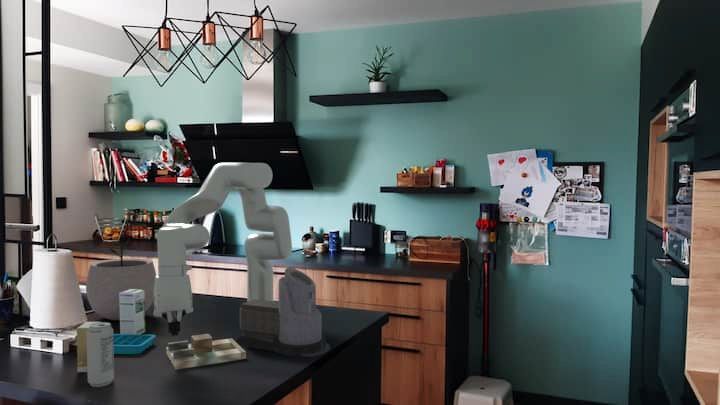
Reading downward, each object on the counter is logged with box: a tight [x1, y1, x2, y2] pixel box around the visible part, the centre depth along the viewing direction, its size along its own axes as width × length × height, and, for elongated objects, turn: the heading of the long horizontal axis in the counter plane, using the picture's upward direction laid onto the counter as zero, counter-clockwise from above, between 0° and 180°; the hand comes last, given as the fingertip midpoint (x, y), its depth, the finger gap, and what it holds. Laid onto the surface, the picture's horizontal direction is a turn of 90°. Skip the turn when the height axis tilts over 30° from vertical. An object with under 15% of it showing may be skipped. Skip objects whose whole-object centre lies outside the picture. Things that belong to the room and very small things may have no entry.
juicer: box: [235, 267, 331, 358], centre depth 171 cm, size 30×16×24 cm, turn 68°
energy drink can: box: [86, 321, 115, 388], centre depth 138 cm, size 6×6×15 cm
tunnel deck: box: [166, 337, 247, 370], centre depth 160 cm, size 20×15×4 cm
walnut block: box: [190, 333, 213, 354], centre depth 159 cm, size 5×5×4 cm
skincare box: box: [76, 321, 100, 373], centre depth 149 cm, size 6×4×12 cm
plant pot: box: [85, 236, 157, 321], centre depth 201 cm, size 24×24×30 cm
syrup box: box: [119, 289, 146, 335], centre depth 182 cm, size 6×6×14 cm
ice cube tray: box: [75, 333, 157, 355], centre depth 167 cm, size 12×20×3 cm, turn 88°
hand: (174, 334), depth 156 cm, fingers closed
